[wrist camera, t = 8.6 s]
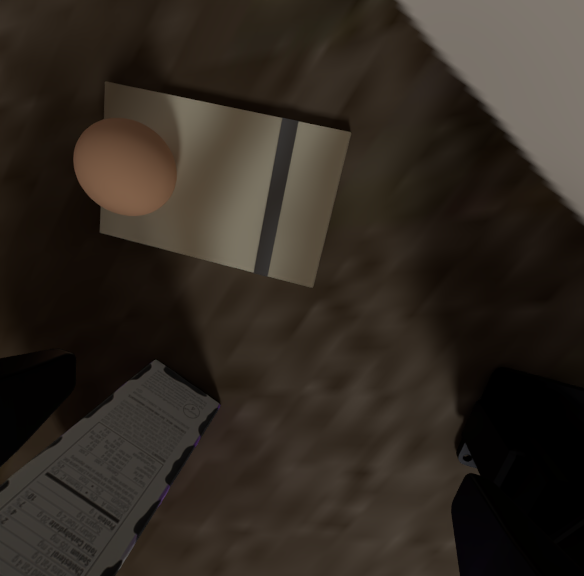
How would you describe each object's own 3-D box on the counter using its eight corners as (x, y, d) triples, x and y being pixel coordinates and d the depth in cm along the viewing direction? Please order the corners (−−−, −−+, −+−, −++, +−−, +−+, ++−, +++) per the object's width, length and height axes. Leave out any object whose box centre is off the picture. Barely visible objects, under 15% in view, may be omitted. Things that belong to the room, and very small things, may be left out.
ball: (196, 137, 17) (151, 119, 13) (186, 221, 18) (142, 229, 14) (116, 119, 17) (46, 96, 13) (112, 203, 19) (48, 206, 14)
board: (351, 134, 16) (351, 132, 16) (313, 285, 19) (312, 288, 18) (112, 84, 18) (103, 80, 17) (107, 231, 20) (98, 233, 19)
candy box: (145, 518, 26) (-155, 991, 11) (83, 478, 26) (-308, 894, 11) (225, 403, 22) (-83, 917, 6) (152, 354, 22) (-343, 751, 6)
